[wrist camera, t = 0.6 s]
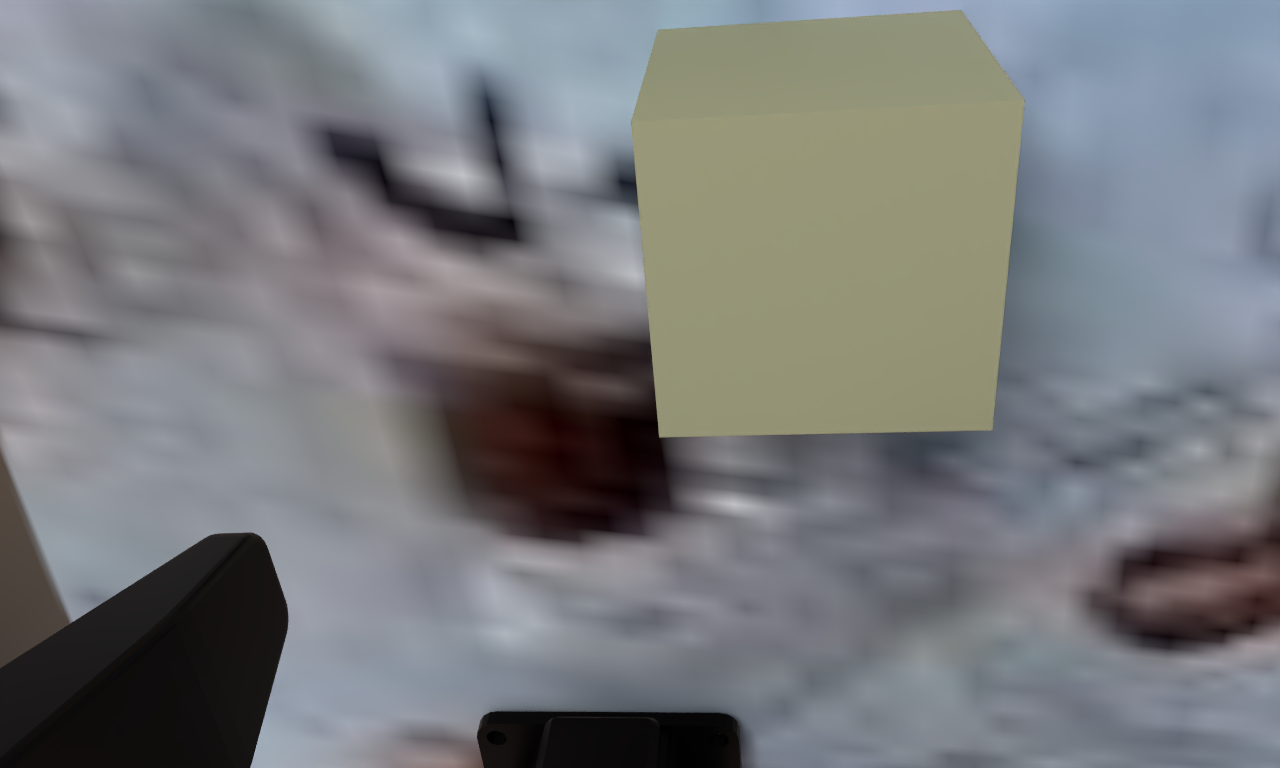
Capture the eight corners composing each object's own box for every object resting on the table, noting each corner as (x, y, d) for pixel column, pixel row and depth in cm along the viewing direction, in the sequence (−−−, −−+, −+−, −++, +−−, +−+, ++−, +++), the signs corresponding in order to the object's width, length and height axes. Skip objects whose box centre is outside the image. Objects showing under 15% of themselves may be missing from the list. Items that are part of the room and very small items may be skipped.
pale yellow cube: (943, 282, 21) (992, 430, 16) (677, 292, 21) (659, 436, 17) (960, 8, 18) (1024, 100, 14) (658, 28, 19) (630, 121, 14)
